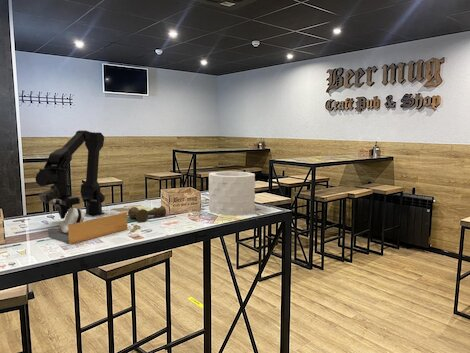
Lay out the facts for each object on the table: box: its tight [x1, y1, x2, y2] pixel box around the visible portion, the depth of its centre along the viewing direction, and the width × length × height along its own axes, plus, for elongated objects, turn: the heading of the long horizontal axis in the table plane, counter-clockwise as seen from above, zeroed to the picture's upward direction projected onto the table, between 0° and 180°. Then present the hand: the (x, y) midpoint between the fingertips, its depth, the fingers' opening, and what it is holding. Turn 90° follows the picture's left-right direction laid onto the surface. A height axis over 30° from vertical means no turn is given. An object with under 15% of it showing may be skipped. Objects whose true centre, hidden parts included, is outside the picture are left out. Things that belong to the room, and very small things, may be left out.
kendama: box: [127, 205, 167, 223], centre depth 167 cm, size 6×10×20 cm
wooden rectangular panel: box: [48, 211, 128, 245], centre depth 144 cm, size 25×15×7 cm, turn 145°
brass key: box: [129, 225, 141, 233], centre depth 149 cm, size 7×3×1 cm, turn 175°
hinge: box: [59, 206, 85, 233], centre depth 148 cm, size 17×5×10 cm, turn 33°
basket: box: [208, 170, 256, 216], centre depth 186 cm, size 25×24×19 cm
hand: (62, 218), depth 154 cm, fingers closed
